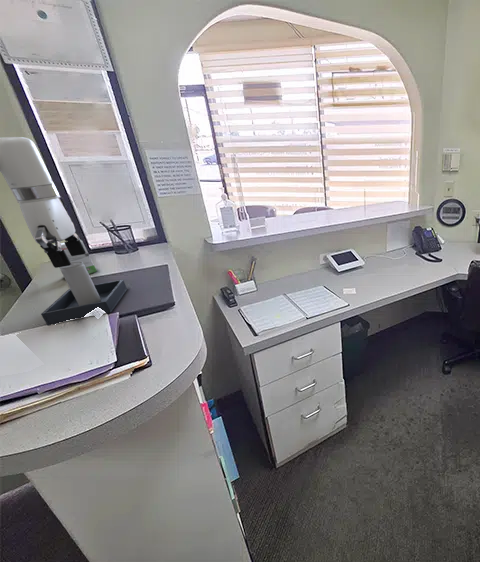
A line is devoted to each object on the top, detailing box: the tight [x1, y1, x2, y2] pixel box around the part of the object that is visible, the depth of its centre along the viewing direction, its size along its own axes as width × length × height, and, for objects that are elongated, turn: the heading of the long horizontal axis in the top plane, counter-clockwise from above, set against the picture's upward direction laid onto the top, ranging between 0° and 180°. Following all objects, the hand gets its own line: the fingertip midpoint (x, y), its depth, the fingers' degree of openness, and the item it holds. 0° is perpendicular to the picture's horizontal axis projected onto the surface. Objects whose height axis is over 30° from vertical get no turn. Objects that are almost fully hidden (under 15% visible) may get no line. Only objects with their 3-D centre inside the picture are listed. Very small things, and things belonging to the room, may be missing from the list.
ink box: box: [58, 239, 98, 275], centre depth 107 cm, size 9×5×12 cm, turn 141°
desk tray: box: [40, 279, 128, 326], centre depth 86 cm, size 13×16×3 cm
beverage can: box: [59, 262, 101, 306], centre depth 84 cm, size 5×5×12 cm
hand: (71, 260), depth 81 cm, fingers open, 9 cm apart
